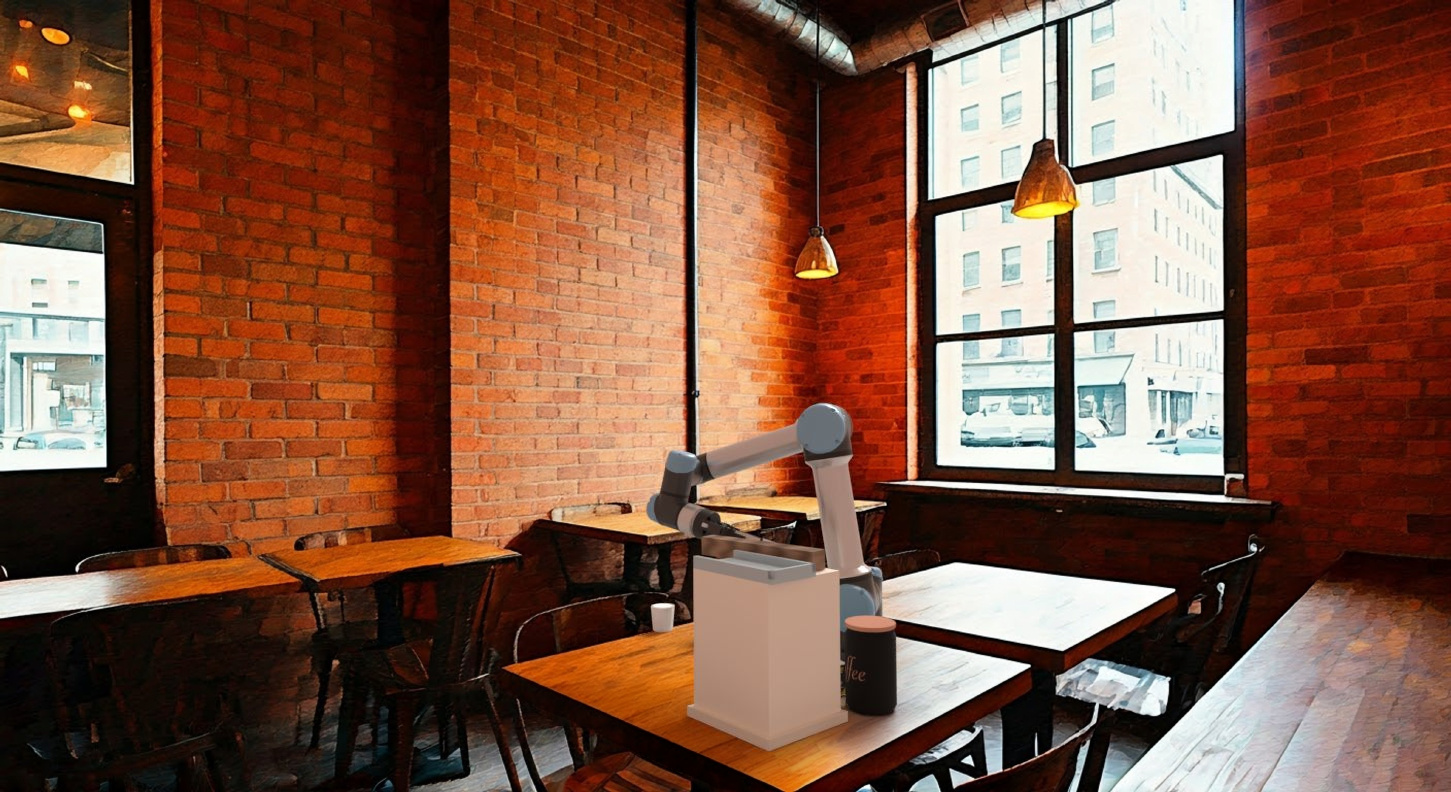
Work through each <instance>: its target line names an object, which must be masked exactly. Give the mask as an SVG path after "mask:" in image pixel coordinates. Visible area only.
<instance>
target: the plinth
mask: <svg viewBox="0 0 1451 792" xmlns="http://www.w3.org/2000/svg"><path fill="white" fill-rule="evenodd" d="M692 569H693V571H692V572H693V577H692V578H693V703H692V704H689V705H687V707H686V713H687V714H686V717H689V718H692V719H694V720H696V721H698V722H701V723H704V724H706V725H707V726H710V727H712V728H714V729H717V730H719V731H721V732H724V733H726V734H728V735H730V736H733V737H735V738H736V739H737V738H738V739H740V740H741V741H744V742H747V743H749V744H751V745H753V746H756V747H757V748H760V749H762V750H764V751H767V752H771V751H774V750H777V749H779V748H781V747H784V746H787V745H789V744H793V743H794V742H795V743H796V742H797V741H800V740H802V739H803V740H804V739H806V738H808V737H812V736H813V735H816V734H819V733H821V732H824V731H826V730H830V729H832V728H834V727H837V726H840V725H841V724H842V725H843V724H844V723H845V724H846V723H847V722H849V711H848V710H846V709H842V707H841V702H842V700H841V697H842V696H841V687H840V585H839V570H833V569H828V567H825V569H824V570H820V571H816V577H811V578H806V579H800V580H795V581H790V582H785V583H780V584H775V585H769V584H764V583H760V582H755V581H751V580H746V579H741V578H737V577H732V576H727V575H723V574H718V573H713V572H709V571H704V570H699V569H695V568H692Z"/></svg>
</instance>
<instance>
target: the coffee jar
mask: <svg viewBox="0 0 1451 792" xmlns="http://www.w3.org/2000/svg"><path fill="white" fill-rule="evenodd" d="M845 626H846V627H847V630H846V631H845V695H844V696H845V698H844V700H845V704H846V706H847V707H848V709H849V710H850V711H851V712H853V713H855V714H857V715H861V716H867V717H881V716H887V715H890V714H891V713H893V712H894V710H895V709H896V707H897V704H898V687H897V686H898V684H897V682H898V680H897V674H898V673H897V668H898V667H897V663H898V662H897V634H896V632H895V628H897V627H896V626H897V622H896V621H895V620H894V619H892V618H889V617H885V616H883V617H880V616H854V617H850V618H847V619H846V620H845Z"/></svg>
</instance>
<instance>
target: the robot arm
mask: <svg viewBox="0 0 1451 792" xmlns="http://www.w3.org/2000/svg"><path fill="white" fill-rule="evenodd" d="M853 429H854V424H853V421H852V417H851V415H850V414H849V413H848V411H846V410H845V409H844V408H843V407H841V406H839V405H836V404H832V403H827V402H821V403H820V402H818V403H816V404H813V405H810V406H809V407H807V408H806V409H804V410H803V412H802V413H801V414H800V416H799V418H797V419H796V420H795V422H794V423H792V424H789V425H787V426H783V427H781V428H778V429H775V430H772V431H769V432H765V433H762V434H759V435H755V436H754V437H751V438H747V439H744V440H741V441H738V442H735V443H732V444H729V445H726V446H722V447H720V448H715V449H713V450H711V451H710V450H709V451H708V452H704V453H700V454H697V455H696V454H694V453H691V452H688V451H683V450H677V449H676V450H674V449H673V450H670V451H669V452H668V455H667V458H666V460H665V464H664V465H665V466H664V470H663V477H662V482H661V485H660V489H659V490H660V491H659V492H656V493H654V494H653V495H651V496H650V497H649V501H648V502H647V504H646V507H645V508H646V516H647V517H648V519H650V520H651V521H652V522H654V523H657V524H658V525H660V526H662V527H666V528H670V529H673V530H676V531H678V532H681V533H683V534H684V535H683V536H684V537H688V536H691V537H695V538H696V539H700V540H701V541H702V537H703V536H709V535H721V536H729V537H736V538H744V539H751V540H759V541H766V542H774V543H776V542H775V541H772V540H769V539H767V536H765V535H763V537H759V536H757V535H754V534H750V533H747V532H746V531H745V532H744V531H742V530H741V528H739V527H738V528H737V527H736V526H732V525H731V524H729V523H727V522H724V521H722V519H721V516H720V514H719V513H718V512H716V511H714V510H711V509H708V508H705V507H704V506H703V507H702V506H700V505H697V504H695V503H692V502H691V503H690V502H688V501H689V498H690V494H691V488H692V487H693V486H700V485H703V484H705V483H707V482H710V481H713V480H716V479H720V478H722V477H726V476H730V475H732V474H736V473H739V472H741V471H745V470H748V469H752V468H756V467H758V466H762V465H765V464H767V463H771V462H775V461H778V460H781V459H784V458H788V457H791V456H793V455H797V454H800V453H803V458H804V459H803V460H804V462H805V464H806V465H808V466H809V467H811V469H812V475H813V482H814V487H815V488H814V489H815V495H816V499H817V506H818V507H817V508H818V512H819V520H820V524H821V525H820V526H821V531H822V537H823V543H824V544H823V545H824V549H825V558H826V561H827V562H826V563H827V564H826V565H827V568H828V569H833V570H839V585H840V660H841V661H843V662H845V631H846V630H847V627H846V626H845V620H846V619H847V618H850V617H854V616H880V617H884V616H883V615H884V613H883V582H884V578H883V572H882V569H880V567H877V566H869V565H867V564H865V562H864V556H863V549H862V543H861V537H860V531H859V524H858V519H857V518H858V517H857V513H856V512H857V511H856V505H855V500H854V494H853V487H852V482H851V476H850V471H849V470H850V469H849V462H850V460H851V459H852V457H854V455H853V448H852V441H851V437H852V436H853Z"/></svg>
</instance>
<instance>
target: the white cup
mask: <svg viewBox="0 0 1451 792" xmlns="http://www.w3.org/2000/svg"><path fill="white" fill-rule="evenodd" d="M650 610H651V621H652V630H653V631H654V632H656V633H669V632H671V631H673V629H674V628H673V627H674V619H675V618H674V617H675V616H674V615H675V604H674V603H667V602H664V603H663V602H662V603H661V602H660V603H655V604H651V606H650Z"/></svg>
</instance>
